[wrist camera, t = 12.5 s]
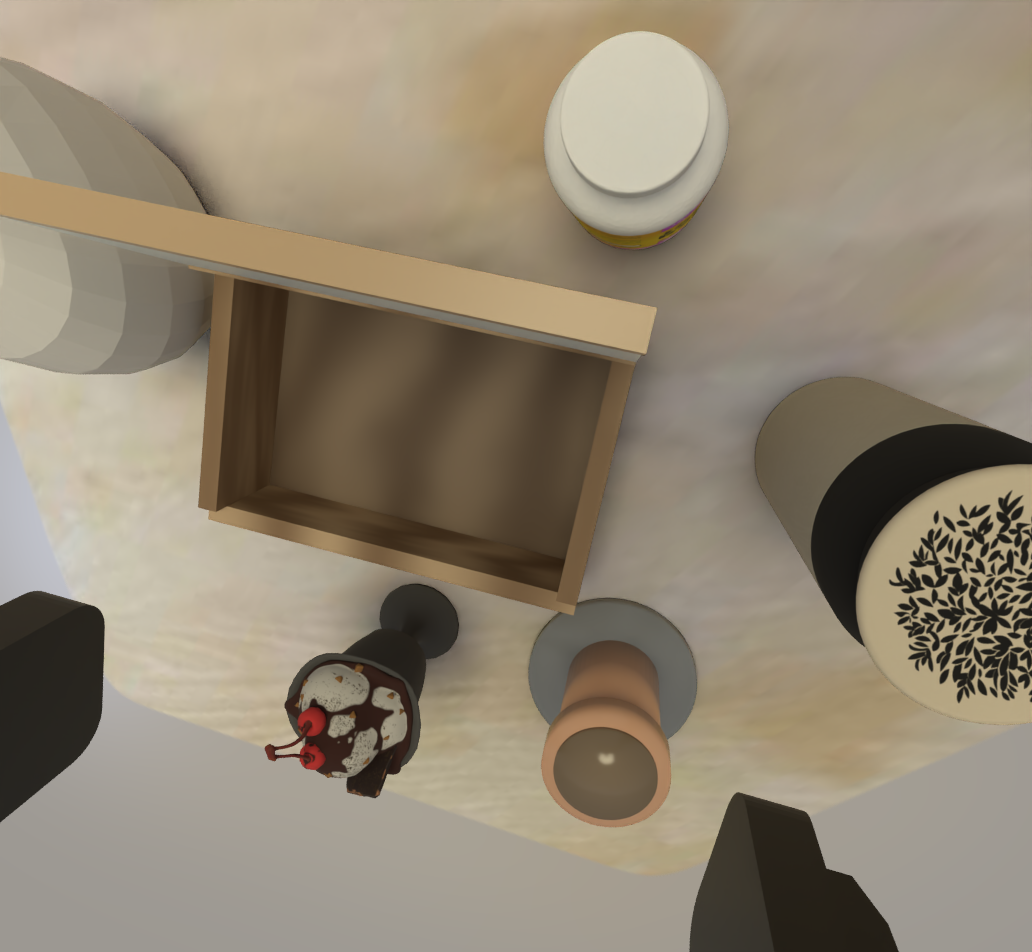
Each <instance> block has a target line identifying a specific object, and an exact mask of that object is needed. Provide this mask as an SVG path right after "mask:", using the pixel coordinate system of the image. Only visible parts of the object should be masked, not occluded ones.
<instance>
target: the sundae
mask: <svg viewBox="0 0 1032 952" xmlns="http://www.w3.org/2000/svg"><path fill="white" fill-rule="evenodd" d="M380 623H381V627H382V629H378V630H375V631H374V632H372V633H370V634H369V635H367V636H365V637H364V638H362V639H360V640H359V641H357V642H356V643H354V644H353V645H352V646H351V647H350V648H348V649H347V650H346V651H345V652H344V653H342V654H339V653H326V654H322V655H319V656H317V657H315V658H313V659H312V660H310V661H309V662H308V663H306V664H305V665H304V666H303V667H302V668H301V669H300V671H299V672H298V674H297V675H296V677H295V678H294V680H293V682H292V684H291V686H290V688H289V692H288V697H287V701H286V702H285V709H286V711H287V714H288V718H289V721H290V723H291V725H292V727H293V729H294V731H295V733H296V734H297V735H298V737H299V738H298V739H297V740H296V741H295V742H293V743H291V744H288V745H285V746H279V747H274V746H273V745H271V744H269V745H267V746H266V747H265V751H266V754H267V756H268V759H269V760H272V761H276V759H277V758H285V757H297V758H300V762H301V764H302V765H303V767H304V768H306V769H311V770H316V771H317V772H319V773H321V774H323V775H325V776H326V777H327V778H329V777H335V778H347V792H348V793H352V794H356V795H359V796H368V797H372V798H376V797H378V796H379V795H380V792H381V789H382V787H383V784H384V782H385V779H386V776H387V774H392V775H394V774H397V773H399V772H400V770H401V767H402V766H404V765H405V764H407V763H408V761H409V760H410V759H411V758H412V756H413V755H414V753H415V751H416V749H417V746H418V742H419V738H420V729H421V722H420V712H419V706H418V701H419V698H420V695H421V692H422V688H423V684H424V678H425V672H426V659H431V658H436V657H438V656H440V655H442V654H444V653H445V652H447V651H448V650H449V649H450V648H451V647H452V645H453V644H454V642H455V640H456V638H457V634H458V626H459V624H458V619H457V615H456V612H455V609H454V608H453V606H452V605H451V603H450V602H449V601H448V599H447V598H446V597H445V596H443V595H442V594H441V593H440V592H438V591H436V590H435V589H433V588H431V587H427V586H424V585H419V584H412V585H405V586H401V587H399V588H397V589H395V590H394V591H392V592H391V593H390V594H389V595H388V596H387V598H386V599H385V600H384V602H383V604H382V607H381V611H380ZM300 741H302V742H303V748H302V749H301V751H300V754H288V755H275V750H279V749H285V748H289V747H292V746H294V745H296V744H297V743H299V742H300Z"/></svg>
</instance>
